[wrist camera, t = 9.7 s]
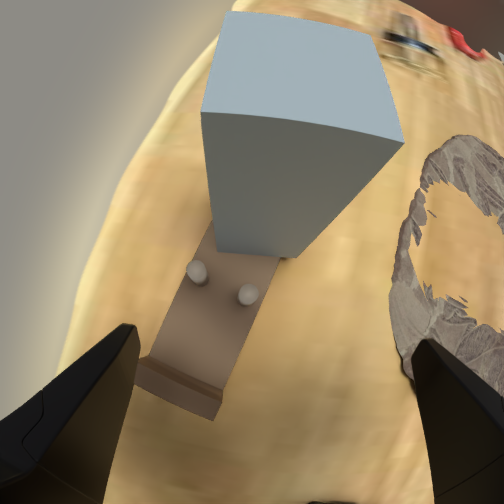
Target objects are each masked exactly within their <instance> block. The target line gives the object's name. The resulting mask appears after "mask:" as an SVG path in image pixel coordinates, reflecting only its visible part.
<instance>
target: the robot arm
mask: <svg viewBox="0 0 504 504" xmlns="http://www.w3.org/2000/svg"><path fill="white" fill-rule="evenodd" d="M140 348H141V345H140V340H139V336H138V331H137V327H136V326H135V325H133V324H127V323H122V324H121V325H119V326H118V327H117V328H116V329H114V330H113V331H112V332H111V333H109V334H108V335H107V336H106V337H104V338H103V339H102V340H101V341H99V342H98V343H97V344H96V345H94V346H93V347H92V348H91V349H90V350H88V351H87V352H86V353H85V354H83V355H82V356H81V357H80V358H79V359H77V360H76V361H75V362H74V363H73V364H71V365H70V366H69V367H68V368H67V369H65V370H64V371H63V372H62V373H61V374H59V375H58V376H57V377H56V378H55V379H53V380H52V381H51V382H50V383H49V384H48V385H46V386H45V387H44V388H43V389H42V390H40V391H39V392H38V393H37V394H36V395H34V396H33V397H32V398H31V399H29V400H28V401H27V402H26V403H24V404H23V405H22V406H21V407H19V408H18V409H17V410H15V411H14V412H12V413H11V414H10V415H8V416H7V417H5V418H4V419H2V420H1V421H0V504H103V500H104V495H105V491H106V486H107V482H108V478H109V474H110V470H111V466H112V462H113V458H114V454H115V451H116V447H117V443H118V439H119V436H120V432H121V429H122V425H123V422H124V418H125V415H126V412H127V408H128V405H129V402H130V398H131V395H132V390H133V385H134V380H135V374H136V369H137V364H138V359H139V354H140ZM411 365H412V371H413V377H414V384H415V391H416V397H417V402H418V407H419V411H420V416H421V420H422V425H423V430H424V435H425V440H426V445H427V451H428V457H429V463H430V470H431V477H432V484H433V492H434V503H435V504H504V397H503V396H500V394H499V393H498V392H497V391H496V390H495V389H493V388H492V387H491V386H490V385H489V384H488V383H487V382H485V381H484V380H483V379H482V378H481V377H479V376H478V375H477V374H476V373H475V372H474V371H472V370H471V369H470V368H469V367H468V366H466V365H465V364H464V363H463V362H461V361H460V360H459V359H458V358H457V357H455V356H454V355H453V354H452V353H451V352H449V351H448V350H447V349H446V348H444V347H443V346H442V345H441V344H439V343H438V342H437V341H436V340H434V339H433V338H424V339H422V340H421V341H420V342H419V344H418V345H417V347H416V349H415V350H414V352H413V354H412V356H411ZM309 504H325V503H318V502H311V503H309Z"/></svg>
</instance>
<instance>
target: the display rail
mask: <svg viewBox="0 0 504 504" xmlns="http://www.w3.org/2000/svg"><path fill="white" fill-rule="evenodd" d="M280 258H281V257H273V256H261V255H248V254H235V253H223V252H217V246H216V239H215V232H214V224H213V219H212V221H211V223H210V225H209V227H208V229H207V231H206V233H205V235H204V237H203V239H202V241H201V243H200V245H199V247H198V249H197V251H196V253H195V255H194V257H193V260H192V261H191V262H190V263H189V264H188V265H187V268H186V271H187V272H186V274H185V276H184V278H183V280H182V283H181V285H180V287H179V289H178V291H177V293H176V295H175V298H174V300H173V302H172V304H171V306H170V309H169V311H168V313H167V315H166V317H165V320H164V322H163V324H162V326H161V329H160V331H159V333H158V335H157V338H156V340H155V342H154V344H153V347H152V349H151V351H150V354H149V356H146V357H143V358H140V359H138V364H137V369H136V374H135V380H134V384H135V385H137V386H139V387H141V388H143V389H144V390H146V391H148V392H150V393H152V394H154V395H156V396H158V397H160V398H162V399H164V400H166V401H168V402H170V403H172V404H174V405H177V406H179V407H181V408H183V409H185V410H188V411H190V412H192V413H194V414H197V415H199V416H201V417H204V418H206V419H209V420H211V421H213V420H214V418H215V416H216V414H217V412H218V410H219V408H220V405H221V403H222V395H223V389H224V387H225V384H226V382H227V380H228V378H229V376H230V373H231V371H232V369H233V367H234V365H235V362H236V360H237V358H238V356H239V353H240V351H241V349H242V347H243V344H244V342H245V340H246V338H247V335H248V333H249V331H250V329H251V326H252V324H253V322H254V319H255V317H256V315H257V312H258V310H259V308H260V306H261V303H262V301H263V299H264V296H265V294H266V292H267V289H268V287H269V284H270V282H271V280H272V277H273V275H274V273H275V270H276V268H277V266H278V263H279V261H280Z"/></svg>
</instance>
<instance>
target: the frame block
mask: <svg viewBox="0 0 504 504" xmlns="http://www.w3.org/2000/svg"><path fill="white" fill-rule="evenodd" d="M201 127H202V137H203V146H204V154H205V163H206V172H207V180H208V188H209V196H210V204H211V211H212V219H213V224H214V232H215V239H216V246H217V252H223V253H235V254H248V255H261V256H273V257H286V258H297V257H298V256H299V255H300V254H301V253H302V252H303V251H304V250H305V249H306V248H307V247H308V246H309V245H310V244H311V243H312V242H313V241H314V240H315V238H316V237H317V236H318V235H319V234H320V233H321V232H322V231H323V230H324V229H325V228H326V227H327V226H328V225H329V224H330V223H331V222H332V221H333V220H334V219H335V218H336V217H337V216H338V215H339V214H340V213H341V211H342V210H343V209H344V208H345V207H346V206H347V205H348V204H349V203H350V202H351V201H352V200H353V199H354V198H355V197H356V196H357V195H358V193H359V192H360V191H361V190H362V189H363V188H364V187H365V186H366V185H367V184H368V183H369V182H370V181H371V179H372V178H373V177H374V176H375V175H376V174H377V173H378V172H379V171H380V170H381V169H382V168H383V166H384V165H385V164H386V163H387V162H388V161H389V160H390V159H391V158H392V157H393V155H394V154H395V153H396V152H397V151H398V150H399V149H400V148H401V147H402V145H403V144H404V143H405V142H404V138H403V134H402V130H401V126H400V122H399V118H398V114H397V111H396V107H395V104H394V100H393V97H392V94H391V91H390V87H389V84H388V81H387V78H386V75H385V72H384V70H383V67H382V64H381V61H380V58H379V56H378V53H377V51H376V48H375V45H374V43H373V40H372V38H371V36H370V35H368V34H364V33H361V32H357V31H354V30H350V29H346V28H343V27H338V26H334V25H330V24H326V23H321V22H316V21H311V20H306V19H300V18H294V17H287V16H280V15H272V14H263V13H253V12H239V11H226V14H225V18H224V21H223V25H222V28H221V32H220V35H219V39H218V42H217V46H216V50H215V53H214V57H213V61H212V65H211V69H210V73H209V77H208V81H207V85H206V90H205V94H204V98H203V103H202V107H201Z"/></svg>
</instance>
